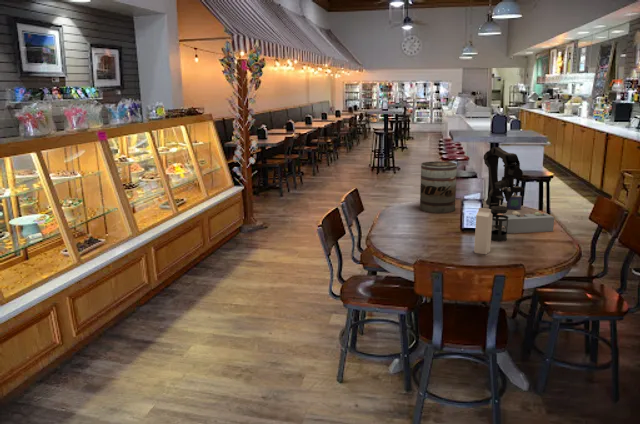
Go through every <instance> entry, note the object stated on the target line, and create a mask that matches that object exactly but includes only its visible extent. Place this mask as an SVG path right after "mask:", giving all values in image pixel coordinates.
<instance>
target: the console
mask: <svg viewBox="0 0 640 424" xmlns="http://www.w3.org/2000/svg"><path fill="white" fill-rule="evenodd" d="M541 214H542V216H536V215H534V213H526V214H523V216H520V217H517V216H515V215H512V214H505V216H507V217H508V227H507V235H508V234H528V233H545V232H547V233H548V232H554V228H555V227H554V226H555V217H554V216H553V215H550V214H548V213H545V212H544V213H542V212H541ZM492 218H496V217H492ZM499 219H506V218H499ZM492 225H495V221H493V220H492ZM502 225H503V226H507V221H502ZM492 230H494V229H492ZM502 231H505V232H506V229H505V230H502Z"/></svg>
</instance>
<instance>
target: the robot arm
mask: <svg viewBox="0 0 640 424" xmlns="http://www.w3.org/2000/svg"><path fill="white" fill-rule="evenodd" d="M482 159H483V161H484V164H485V166H486V167H487V170H488V177H489V187H490V191H489V193H488V197H487V199H486V200H485V204H486V205H487V206H488V209H491V207H492V206H503V203H504V200H505V202H506V203H507V202H508V201H509V200H510V198H511V196H512V195H514V193H516V194H517V193H523V192H524V188H523V186H519V185H517V186H516V184H515V180H516V179H521V177H522V176H523V175H524V172H523V170H522V169H521V167H520V166H521V163H520V160H519V158H518V155H517V154H516V153H513V152H512V153H511V152H508V151H506V150H505V149H502V147H499V146H498V147H497V146H495V147H492V148H491V149H489V150H487V151H486V152H485V153H484V154H483V158H482ZM499 159H501V160H502V163H503V167H504V168H503V169H504V170H503V176H502V177H501V180H499V177H498V171H497V165H498V162H499ZM496 196H504V197H505V198H501V202H500V200H499V198H497V197H496ZM491 213H492V214H493V215H497V214H499V213H493V212H491Z"/></svg>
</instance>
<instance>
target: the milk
mask: <svg viewBox="0 0 640 424" xmlns="http://www.w3.org/2000/svg"><path fill="white" fill-rule="evenodd" d="M492 215H493V214H492V213H491V209H489V208H485V207H478V211H477V213H476V215H475V216H476V217H475V232H474V246H473V247H474V248H473V249H474V250H473V253H474V254H475V253H476V254H481V255H487V254H489V253H490V252H491V245H492V244H491V243H492V242H491V241H492V240H491V231H492Z"/></svg>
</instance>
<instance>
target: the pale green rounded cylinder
mask: <svg viewBox="0 0 640 424" xmlns="http://www.w3.org/2000/svg"><path fill="white" fill-rule="evenodd" d="M533 215H536V216H542V212H539V211H535V212H534V213H533Z"/></svg>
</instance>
